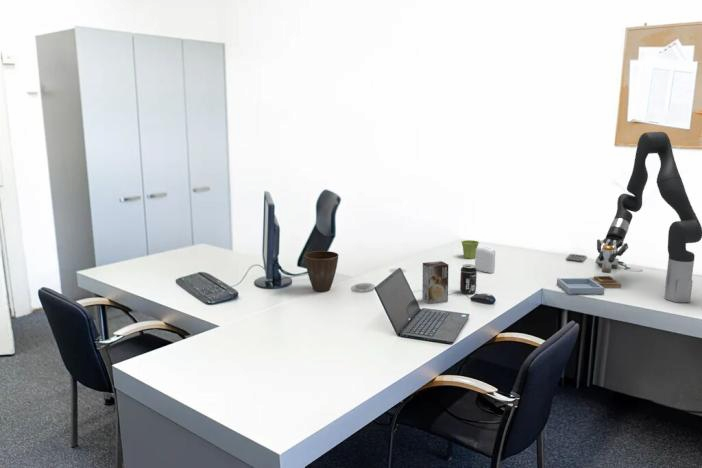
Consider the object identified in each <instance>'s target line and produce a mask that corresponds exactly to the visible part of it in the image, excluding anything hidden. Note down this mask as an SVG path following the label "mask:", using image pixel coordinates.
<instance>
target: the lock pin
mask: <svg viewBox="0 0 702 468" xmlns="http://www.w3.org/2000/svg"><path fill="white" fill-rule="evenodd" d="M602 248H603V258H602V261H601V273H602V274H603V273H604V274H611V273H612V265H613V262H612V263H610V261H609V260H610V257H611V255H612V254H613V248H614V246H611V245H604V244H602Z"/></svg>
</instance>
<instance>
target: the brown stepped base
mask: <svg viewBox="0 0 702 468" xmlns="http://www.w3.org/2000/svg"><path fill="white" fill-rule="evenodd" d="M588 278H591V279H592V280H594V281H595V282H597V283H598V284H599V285H601V286H602V287H604V288H605V289H621V288H622V287H621V286H622V283H621V282H619V281H618V280H616V279H614V278H613V277H611V276H610V275H595V276H591V277H588Z"/></svg>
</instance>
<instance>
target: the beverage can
mask: <svg viewBox="0 0 702 468" xmlns="http://www.w3.org/2000/svg"><path fill="white" fill-rule="evenodd" d="M477 271H478V270H477V269H476V268H475V264H472V263H465V264H462V266H461V268H460V282H459V286H460V287H459V291H461V292H462V294H467V295H471V294H474V293H476V292H477V278H478V277H477V275H478V273H477Z"/></svg>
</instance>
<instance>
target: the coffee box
mask: <svg viewBox="0 0 702 468" xmlns="http://www.w3.org/2000/svg"><path fill="white" fill-rule="evenodd" d="M421 290H422V291H421V292H422V296H421V297H422V298H421V299H422V300H423V301H424V302H426V303H427V304H437V303H446V302H447V303H448V301H449V264H448V263H446V262H444V261H442V260H441V261H429V262H422V289H421Z"/></svg>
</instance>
